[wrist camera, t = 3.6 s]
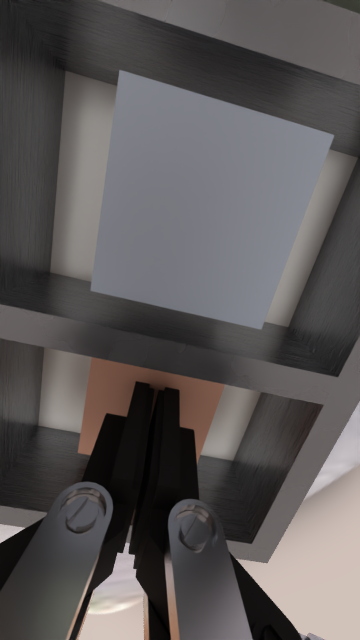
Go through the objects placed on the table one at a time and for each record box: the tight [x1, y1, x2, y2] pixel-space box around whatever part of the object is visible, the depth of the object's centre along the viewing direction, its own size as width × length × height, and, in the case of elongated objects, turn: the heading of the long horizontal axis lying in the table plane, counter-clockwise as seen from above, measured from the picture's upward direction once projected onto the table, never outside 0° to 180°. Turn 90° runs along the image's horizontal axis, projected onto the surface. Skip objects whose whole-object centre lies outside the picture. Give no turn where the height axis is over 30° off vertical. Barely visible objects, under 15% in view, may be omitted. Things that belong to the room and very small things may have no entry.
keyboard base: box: [38, 71, 358, 461], centre depth 11 cm, size 24×12×2 cm, turn 166°
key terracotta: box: [78, 357, 225, 463], centre depth 12 cm, size 5×5×2 cm
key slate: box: [90, 70, 334, 329], centre depth 8 cm, size 5×5×2 cm
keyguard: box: [0, 0, 360, 563], centre depth 8 cm, size 24×12×4 cm, turn 166°
